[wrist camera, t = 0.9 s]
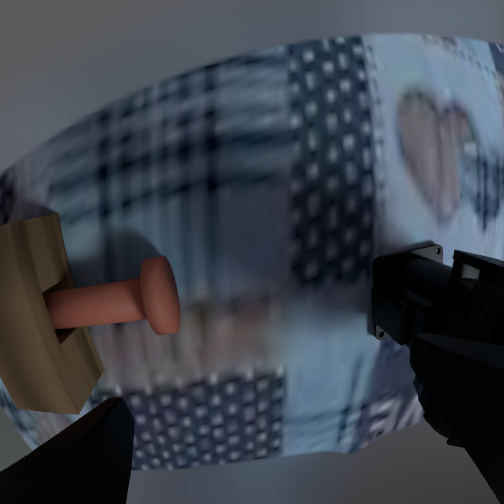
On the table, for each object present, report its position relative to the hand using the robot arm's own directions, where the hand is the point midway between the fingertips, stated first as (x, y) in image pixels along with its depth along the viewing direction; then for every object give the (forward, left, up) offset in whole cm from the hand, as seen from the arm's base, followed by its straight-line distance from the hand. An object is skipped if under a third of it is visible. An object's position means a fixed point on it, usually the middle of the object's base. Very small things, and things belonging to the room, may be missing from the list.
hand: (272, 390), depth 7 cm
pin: (+9, 0, -12) cm, 15 cm away
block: (+15, 0, -12) cm, 19 cm away
